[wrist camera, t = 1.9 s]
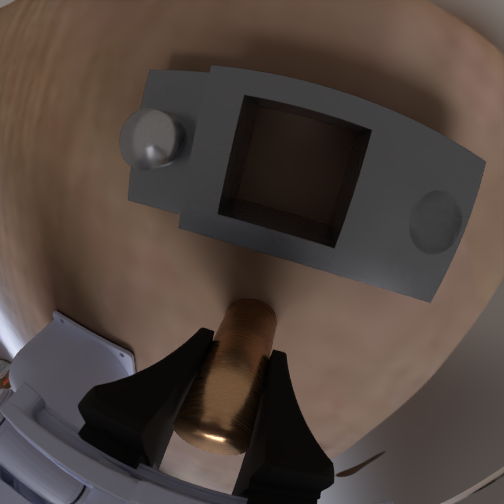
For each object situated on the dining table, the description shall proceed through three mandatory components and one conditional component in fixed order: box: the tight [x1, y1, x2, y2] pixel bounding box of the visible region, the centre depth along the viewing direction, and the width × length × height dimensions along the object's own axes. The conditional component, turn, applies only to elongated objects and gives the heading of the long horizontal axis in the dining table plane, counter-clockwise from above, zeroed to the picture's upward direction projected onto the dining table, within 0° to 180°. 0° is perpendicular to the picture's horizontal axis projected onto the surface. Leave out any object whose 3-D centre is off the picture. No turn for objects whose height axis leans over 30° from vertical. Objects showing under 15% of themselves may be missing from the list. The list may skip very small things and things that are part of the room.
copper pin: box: [173, 299, 277, 455], centre depth 12 cm, size 3×3×8 cm
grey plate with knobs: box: [120, 65, 486, 303], centre depth 10 cm, size 15×7×3 cm, turn 77°
